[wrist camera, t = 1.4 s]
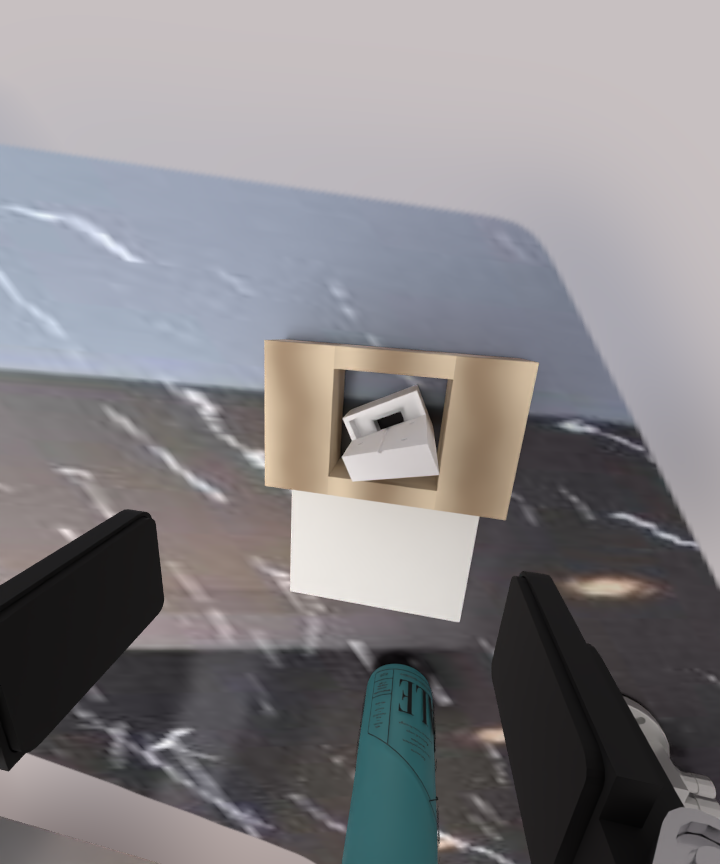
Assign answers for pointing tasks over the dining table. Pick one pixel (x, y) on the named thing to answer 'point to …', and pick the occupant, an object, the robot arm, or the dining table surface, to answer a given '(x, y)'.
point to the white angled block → (391, 439)
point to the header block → (459, 436)
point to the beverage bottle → (394, 773)
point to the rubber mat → (381, 554)
